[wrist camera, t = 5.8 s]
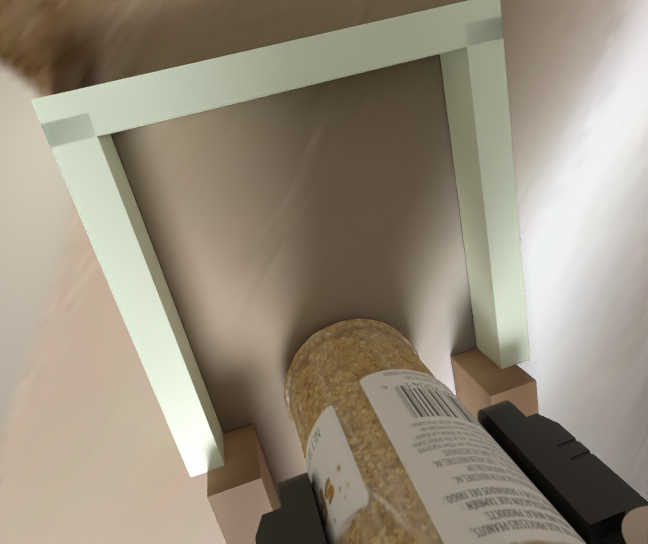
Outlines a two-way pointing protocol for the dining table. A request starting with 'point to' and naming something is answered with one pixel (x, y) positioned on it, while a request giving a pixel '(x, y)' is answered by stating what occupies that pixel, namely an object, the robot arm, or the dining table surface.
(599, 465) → the robot arm
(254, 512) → the channel
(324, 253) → the dining table surface
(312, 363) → the sprinkles bottle
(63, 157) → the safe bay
